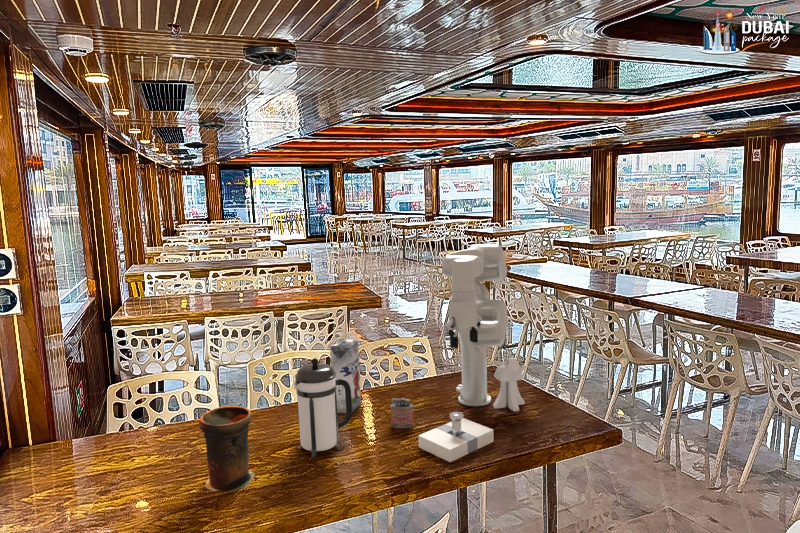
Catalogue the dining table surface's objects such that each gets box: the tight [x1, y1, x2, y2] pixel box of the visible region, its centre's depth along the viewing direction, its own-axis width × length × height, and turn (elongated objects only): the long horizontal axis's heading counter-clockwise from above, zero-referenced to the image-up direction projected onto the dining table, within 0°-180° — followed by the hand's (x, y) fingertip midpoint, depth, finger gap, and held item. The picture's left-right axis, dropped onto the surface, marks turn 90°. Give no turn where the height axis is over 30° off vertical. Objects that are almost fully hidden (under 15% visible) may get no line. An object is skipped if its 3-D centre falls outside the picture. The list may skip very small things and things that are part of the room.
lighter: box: [389, 397, 415, 429], centre depth 198 cm, size 8×3×10 cm, turn 84°
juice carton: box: [329, 339, 362, 414], centre depth 213 cm, size 9×10×27 cm
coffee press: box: [293, 357, 353, 460], centre depth 182 cm, size 17×16×30 cm
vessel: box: [198, 405, 256, 493], centre depth 164 cm, size 14×14×20 cm
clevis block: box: [417, 417, 495, 463], centre depth 183 cm, size 20×14×4 cm
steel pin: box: [449, 411, 464, 437], centre depth 183 cm, size 4×4×10 cm
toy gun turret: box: [490, 357, 527, 412], centre depth 212 cm, size 12×13×18 cm
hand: (464, 344), depth 195 cm, fingers open, 9 cm apart
